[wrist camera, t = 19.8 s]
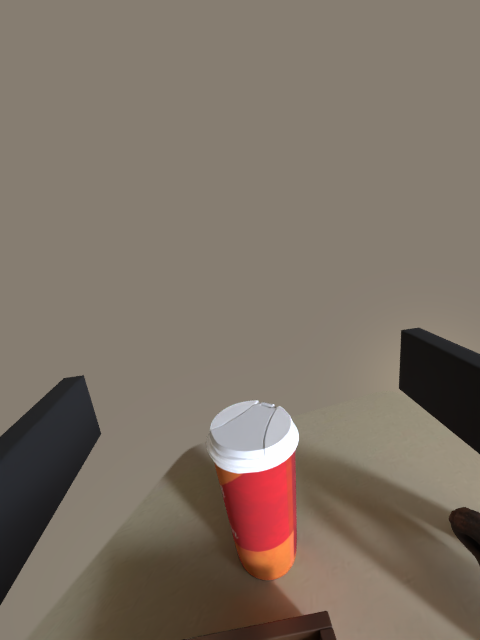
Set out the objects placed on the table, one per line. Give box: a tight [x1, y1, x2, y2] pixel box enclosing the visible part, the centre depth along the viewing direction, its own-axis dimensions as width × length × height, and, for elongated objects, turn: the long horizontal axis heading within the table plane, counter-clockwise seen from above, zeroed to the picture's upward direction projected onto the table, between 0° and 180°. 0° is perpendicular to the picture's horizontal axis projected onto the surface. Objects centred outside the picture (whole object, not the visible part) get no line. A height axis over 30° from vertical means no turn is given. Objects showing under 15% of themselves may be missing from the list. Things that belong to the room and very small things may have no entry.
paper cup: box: [206, 401, 299, 580], centre depth 26 cm, size 8×8×14 cm
